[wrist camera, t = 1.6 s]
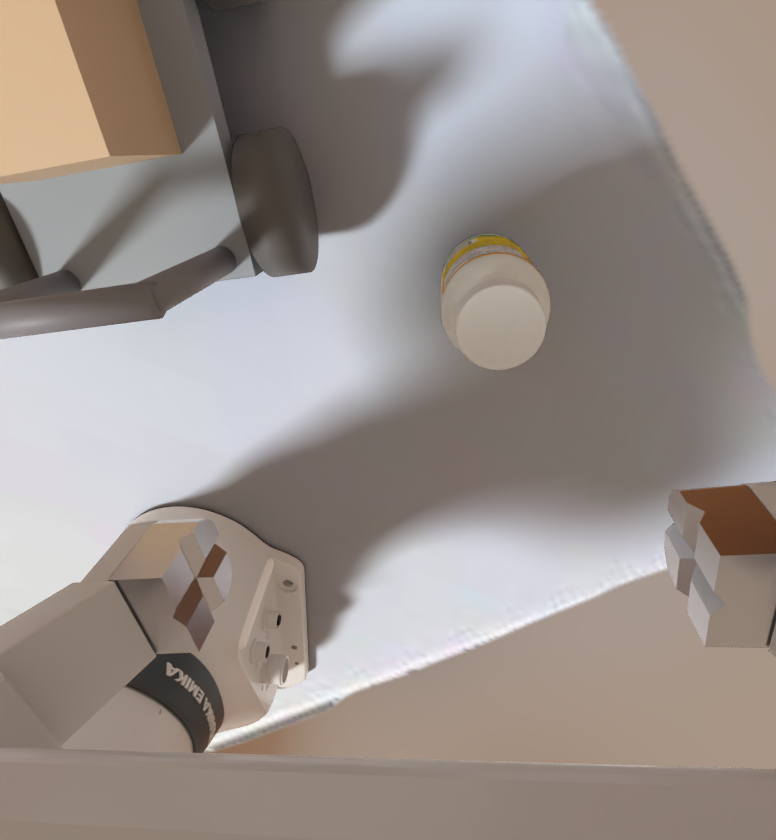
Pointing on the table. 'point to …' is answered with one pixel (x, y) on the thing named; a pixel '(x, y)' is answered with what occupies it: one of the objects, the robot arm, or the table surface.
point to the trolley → (131, 168)
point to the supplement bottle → (493, 302)
